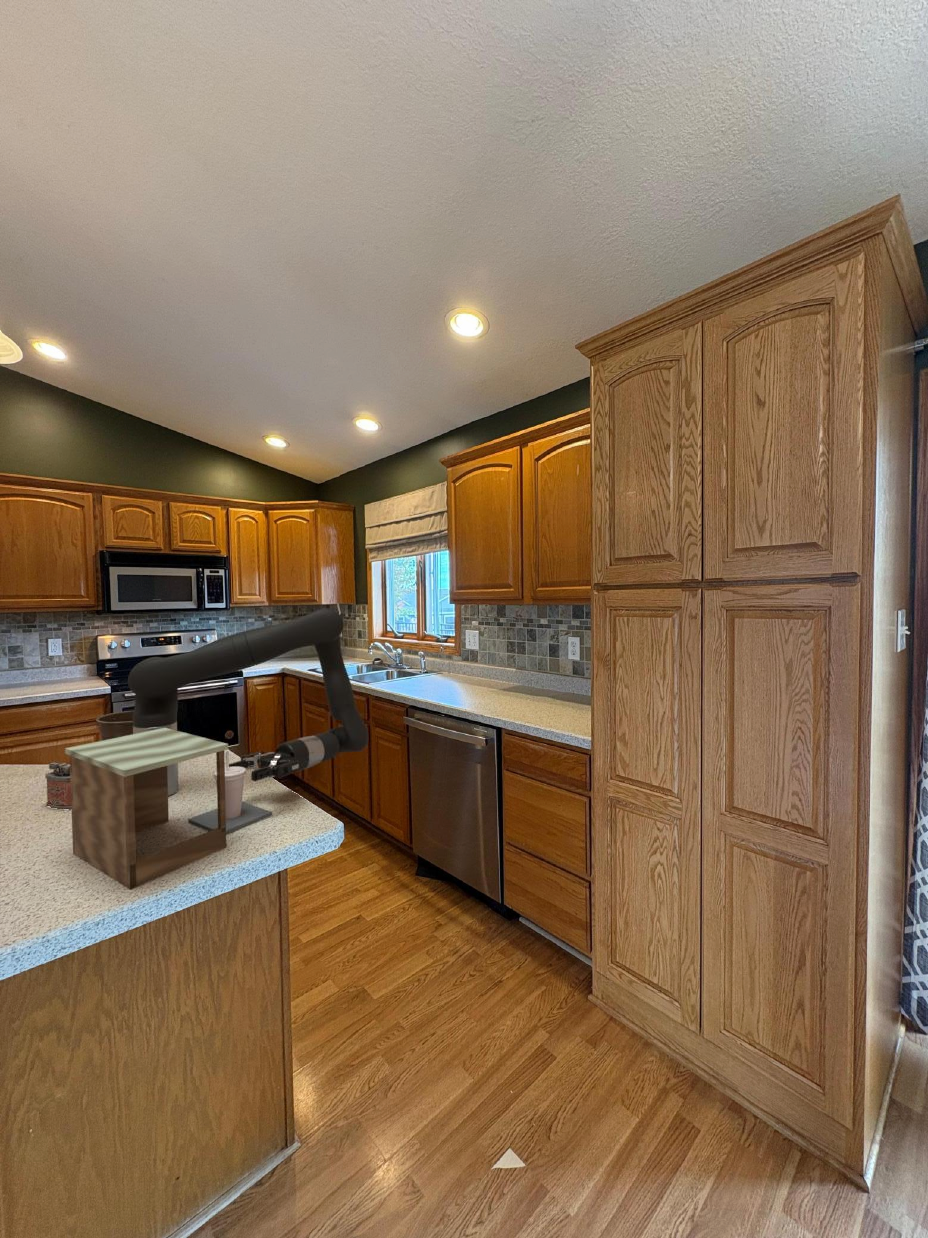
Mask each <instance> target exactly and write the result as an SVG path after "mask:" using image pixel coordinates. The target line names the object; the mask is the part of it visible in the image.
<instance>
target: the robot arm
mask: <svg viewBox="0 0 928 1238" xmlns="http://www.w3.org/2000/svg"><path fill="white" fill-rule="evenodd" d="M344 624H345V623H344V619H343V617H342V615H341V614H340V613H339V612H338V611H337V610H335V609H332V608H327V607H325V608H324V607H323V608H318V609H317V610H315V611H313V612H311V613H308V614H305V615H303V616H300V617H298V618H295V619H293V620H290V621H287V622H282V623H277V624H272V625H265V626H261V627H256V628H251V629H247V630H244V631H243V630H242V631H240V632H237V633H233V634H230V635H227V636H224V637H221V638H218V639H216V640H213V641H211V642H209V643H207V644H204V645H202V646H200V647H198V648H196V649H193V650H190V651H187V652H185V653H181V654H177V655H176V654H175V655H171V656H167V657H160V656H153V657H148V658H146V659H143V660H142V661H139V662H138V663H137V664H136V665H134V667H133V668H131V671H130V672H129V674H128V678H127V685H128V687H129V690H130V691H131V692H132V693H133V694H134V698H135V700H134V708H133V711H134V713H133V734H137V733H142V732H147V731H152V730H156V729H161V728H168V729H172V730H176V731H178V722H177V721H178V719H177V718H178V717H177V716H178V709H179V706H178V705H179V698H178V697H179V692H178V689H179V688H181V687H184V686H187V685H190V684H193V683H195V682H197V681H198V682H199V681H202V680H206V679H209V678H214V677H218V676H224V675H227V674H231V673H235V672H239V671H242V670H245V669H248V668H252V667H255V666H259V665H260V664H261V665H262V664H263V663H266V662H268V661H271V660H273V659H276V658H278V657H280V656H282V655H285V654H287V653H289V652H291V651H295V650H297V649H301V648H304V647H310V646H314V648H315V651H316V654H317V658H318V661H319V664H320V668H321V673H322V679H323V685H324V691H325V695H326V699H327V704H328V709H329V713H330V716H331V717H332V719H335V720H338V721H340V722H341V724H342V725H341V726H336V727H333V728H330V729H329V730H327V731H325V732H321V733H318V734H314V735H310V736H309V735H308V736H303V737H299V738H296V739H292V740H289V741H285V742H283V743H280V744H279V745H277V748H276V750H275V752H274V751H270V752H267V753H266V752H265V750H260V751H257V752H253V753H250V754H249V753H248V754H245V755H241V756H240V760H239V761H235V762H232V763H229V767H244V768H245V769H246V771H247V770H252V771H251V773H250V774H251V776H250V779H251V781H252V782H258V781H261V780H264V779H267V778H274V777H275V778H276V779H282V778H284V777H286V776H289V775H292V774H295V773H298V772H301V771H303V770H306V769H309V768H311V767H314V766H315V765H318V764H319V763H323V762H326V761H329V760H331V759H333V758H335V757H336V756H337V755H338V754H340V753H347V752H348V753H349V752H350V753H352V752H354V753H355V752H361V751H363V750H364V749H366V747H367V745H368V743H369V732H368V731H369V730H368V728H367V725H366V723H365V721H364V719H363V718H362V714H361V713H360V712H359V710H358V709H357V704H356V700H355V696H354V691H353V688H352V684H351V680H350V677H349V674H348V670H347V667H346V666H345V661H344V658H343V654H342V649H341V648H342V647H341V637H340V636H341V634H342V632H343V631H344V626H345V625H344ZM258 764H259V765H258ZM167 775H168V797H169V796H172V795H174V794H175V793H177V792H178V791H179V788H180V787H179V763H175V764H171V765H167Z"/></svg>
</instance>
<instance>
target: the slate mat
mask: <svg viewBox="0 0 928 1238" xmlns="http://www.w3.org/2000/svg"><path fill="white" fill-rule="evenodd" d="M272 816H273V811H271V810H268V809H265V808H262V807H259V806H257V805H253V804H251V803H248V802H245V801H243V800H242V804H241V813H240V815H239V816H238V817H235V818H231V819H226V836H227V835H230V834H231V833H233V832H235V831H238V830H239V831H240V830H241V829H243V828H246V827H249V826H250V825H252V824H253V825H254V824H256V823H258V822H260V821H263V820H265V819H267V818H270V817H272ZM187 823H188V824H190V825H192V826H194V827H195V826H196V827H198V828H199V829H202V830H205V831H206V832H208V831H211V830H213V829H216V828H218V807H217V808H215V809H212V810H209V811H206V812H203V813H201V814H198V815H195V816H193V817H189V818H187Z"/></svg>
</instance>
